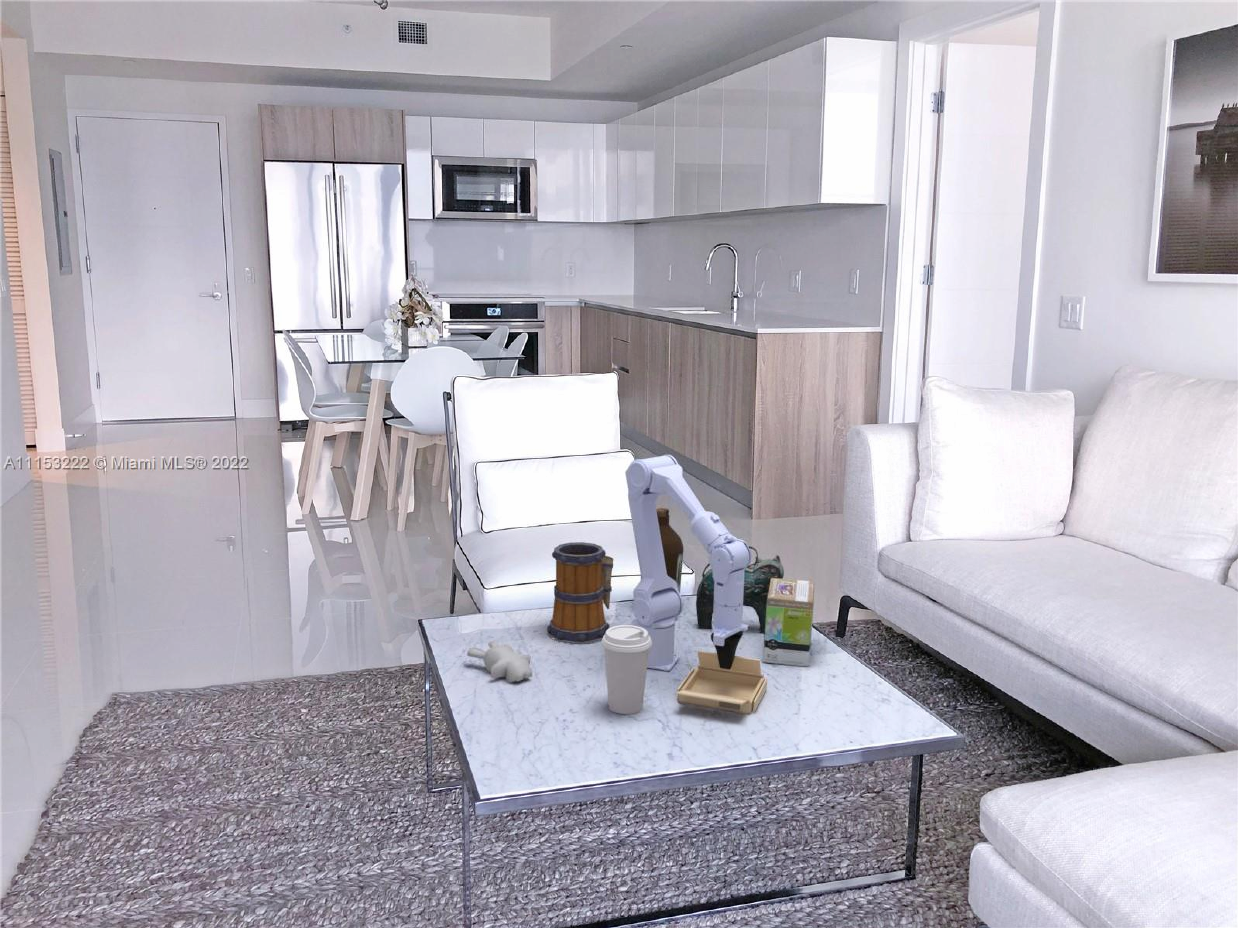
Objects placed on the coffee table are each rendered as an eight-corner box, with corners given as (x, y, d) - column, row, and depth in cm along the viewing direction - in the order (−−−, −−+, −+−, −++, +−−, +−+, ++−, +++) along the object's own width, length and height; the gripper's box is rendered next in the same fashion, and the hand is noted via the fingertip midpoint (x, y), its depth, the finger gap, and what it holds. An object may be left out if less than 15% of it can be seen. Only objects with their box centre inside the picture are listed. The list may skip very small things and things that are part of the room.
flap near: (682, 691, 191) (676, 694, 187) (682, 690, 191) (676, 692, 187) (746, 702, 187) (742, 704, 183) (746, 700, 187) (742, 702, 183)
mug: (585, 612, 242) (586, 532, 238) (634, 625, 233) (636, 542, 229) (533, 634, 226) (533, 550, 222) (583, 649, 218) (584, 561, 214)
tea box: (810, 667, 210) (814, 601, 207) (762, 663, 212) (765, 597, 209) (811, 642, 224) (814, 579, 222) (766, 638, 226) (769, 576, 223)
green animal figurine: (780, 627, 233) (785, 545, 229) (781, 637, 227) (785, 553, 223) (696, 622, 236) (698, 540, 232) (694, 631, 230) (696, 548, 226)
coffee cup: (614, 721, 184) (615, 645, 181) (592, 701, 192) (592, 627, 189) (659, 711, 188) (661, 636, 185) (635, 692, 196) (637, 620, 193)
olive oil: (638, 614, 240) (640, 514, 235) (638, 600, 251) (640, 503, 246) (682, 615, 240) (685, 515, 235) (681, 601, 250) (684, 504, 245)
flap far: (699, 665, 203) (697, 651, 200) (700, 664, 203) (697, 650, 200) (760, 674, 199) (759, 660, 196) (761, 673, 199) (759, 659, 196)
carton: (675, 702, 192) (675, 688, 192) (693, 676, 204) (694, 663, 204) (753, 715, 187) (754, 701, 187) (767, 687, 199) (768, 674, 199)
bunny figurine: (506, 671, 196) (462, 641, 206) (504, 694, 197) (461, 663, 208) (543, 658, 202) (499, 630, 213) (542, 681, 204) (498, 652, 214)
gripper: (740, 616, 186) (737, 684, 189) (756, 593, 200) (753, 657, 202) (703, 611, 188) (701, 679, 191) (722, 589, 202) (719, 652, 205)
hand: (725, 667), depth 197 cm, fingers closed
